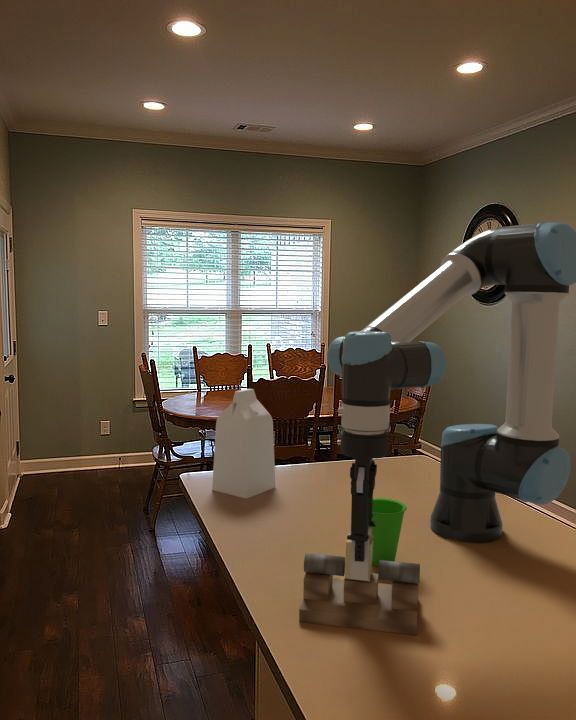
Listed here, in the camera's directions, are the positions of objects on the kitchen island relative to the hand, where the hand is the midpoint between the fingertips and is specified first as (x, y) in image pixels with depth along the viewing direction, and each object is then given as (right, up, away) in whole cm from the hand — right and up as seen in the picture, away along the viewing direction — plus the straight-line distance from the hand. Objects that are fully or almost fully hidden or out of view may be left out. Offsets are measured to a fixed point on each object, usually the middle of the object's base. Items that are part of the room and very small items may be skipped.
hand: (360, 572), depth 104 cm
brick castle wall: (0, -6, +1) cm, 6 cm away
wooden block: (0, 0, 0) cm, 1 cm away
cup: (+6, -5, +20) cm, 21 cm away
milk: (-23, 0, +65) cm, 69 cm away
